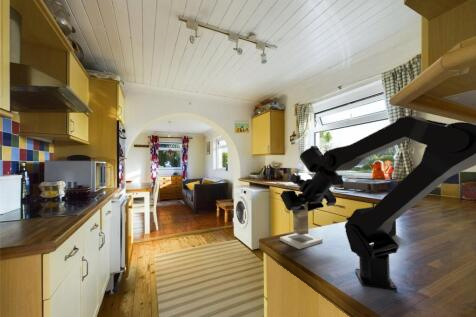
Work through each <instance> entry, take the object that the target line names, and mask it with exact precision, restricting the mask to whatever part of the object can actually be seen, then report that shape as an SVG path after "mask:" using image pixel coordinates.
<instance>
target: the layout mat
mask: <svg viewBox="0 0 476 317" xmlns="http://www.w3.org/2000/svg"><path fill="white" fill-rule="evenodd" d="M279 241H281V242H283V243H285V244H287V245H289V246H291V247H294V248H295V249H298V250H301V249H304V248H307V247H311V246H314V245H317V244H321V243H323V242H324V241H323V238H321V237H318V236H315V235H312V234H309V233H308V234H303V235H299V234H297V233H295V232H294V233H291V234H287V235H284V236H280V237H279Z"/></svg>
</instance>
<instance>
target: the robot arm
mask: <svg viewBox="0 0 476 317" xmlns="http://www.w3.org/2000/svg"><path fill="white" fill-rule="evenodd" d="M409 140H412V141H415V142H417V143H419V144H423V145H425V148H424V151H423V154H422V157H421V160H420V162H419V163H418V164H417V165H416V166H415V167H414V168H413V169H412V170H411V171H410V172H409V173H408V174H407V175H406V176H405V177H403V178H402V179H401V180H400V182H399V183H398V184H396V185H395V186H394V187H392V189H391V190H389V192H388V193H387V194H385V195H384V197H382V198H381V200H379V201H378V202H377V203H376V204H375V205H374V206H370V207H363V208H356V209H355V210H354V211H353V212H352V213H351V215H350V216H349V217H346V218H345V220H346V223H345V225H344V229H345V235H346V238H347V241H348V244H349V247H350V250H351V252H352V253H354V254H356V256H357V257H359V258H358V259H359V262H358V263H359V268H355V270H354V272H355V274H356V275H357V277H358V279H359V281H360V283H361V285H363V286H366V287H367V286H368V287H374V288H379V289H380V288H381V289H388V290H395V291H396V290H398V287H397V285H396V284H395V282H394V281H393V280H392V278H391V272H390V270H391V269H390V255H391V254H397V253H398V250H399V247H400V245H399V244H398V243H397V241H396V240H395V239H394V238H393V237H391V235H390V234H389V232H390V231H391V229H392V225H393V222H394V221H395V220H396V221H397V220H398V219H399V218H400V217H401V216H403V215H404V214H405V213H406V212H408V211H409V210H410V209H411V208H413V207H414V206H415V205H417V203H418V202H420V201H421V200H423V199H424V198H425V197H427V196H428V195H429V194H430V193H431V192H433V191H434V190H435V189H436V188H437V187H439V186H440V185H442V184H443V183H444V182H445V181H447V179H449V178H451V177H452V176H454V175H457V174H459V173H461V172H463V171H466V170H469V169H471V168H473V167H474V166H476V122H475V123H474V122H466V121H458V122H452V123H447V122H442V121H441V122H440V121H434V120H431V119H430V120H429V119H426V118H424V117H422V116H413V115H403V116H401V117H399V118H397V119H396V120H395V121H394V122H391V123H389V124H388V125H386V126H384V127H382V128H380V129H378V130H376V131H374V132H373V133H371V134H368V135H367V136H365V137H363V138H360V139H359V140H357V141H355V142H353V143H351V144H348V145H345V146H339V147H335V148H330V149H328V150H326V151H325V152H324V153H322V151H321V150H320V149H319V147H318V146H317V145H310V147H309V148H307V149H305V150H304V151H303V152H301V153H300V155H299V158H300V159H299V160H301V162H302V163H303V165H304V166H305V168H306V169H307V170H308V172H310V173H314V174H313V176H311V175H309V174H308V173H306V172H299V173H298V172H296V173H295V172H294V173H293V174H292V175H291V177H290V182H292V183H293V185H297V186H298V187H299V188H298V190H299V191H300V192H301V193H298V194H297V192H296V190H293V189H292V190H291V189H290V190H288V189H287V190H282V192H281V194H280V198H281V201H282V202H283V204H284V206H285V208H286V209H287V210H288V211H292V215H293V214H297V213H299V212H301V211H303V210H305V207H304V205H305V204H306V203H308V213H309V212H312V211H315V210H319V209H322V208H324V206H325V205H326V206H327V207H333V206H335V204H336V203H337V198H336V196H335V195H334V194H333V192H332V190H331V188H332V186H343V185H344V183H345V182H344V179H343V175H342V174H338V172H341V171H342V172H345V171H350V170H352V169H353V168H355V167H356V166H358V165H359V164H360V163H361V162H362V161H363V160H364V159H366V158H368V157H371V156H373V155H376V154H378V153H380V152H383V151H386V150H388V149H390V148H393V147H395V146H397V145H400V144H402V143H405V142H407V141H409ZM324 199H325V201H326V203H325V205H324V204H323V202H324Z"/></svg>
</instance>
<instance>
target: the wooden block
mask: <svg viewBox="0 0 476 317" xmlns="http://www.w3.org/2000/svg"><path fill="white" fill-rule="evenodd" d="M304 207H305V210H303V211H301V212H299V213H297V214H293V213H292V226H293V231H292V232H293V233H294V234H295V233H297V234H299V235H303V234H309V212H308V203H306V204H305V205H304Z"/></svg>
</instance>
